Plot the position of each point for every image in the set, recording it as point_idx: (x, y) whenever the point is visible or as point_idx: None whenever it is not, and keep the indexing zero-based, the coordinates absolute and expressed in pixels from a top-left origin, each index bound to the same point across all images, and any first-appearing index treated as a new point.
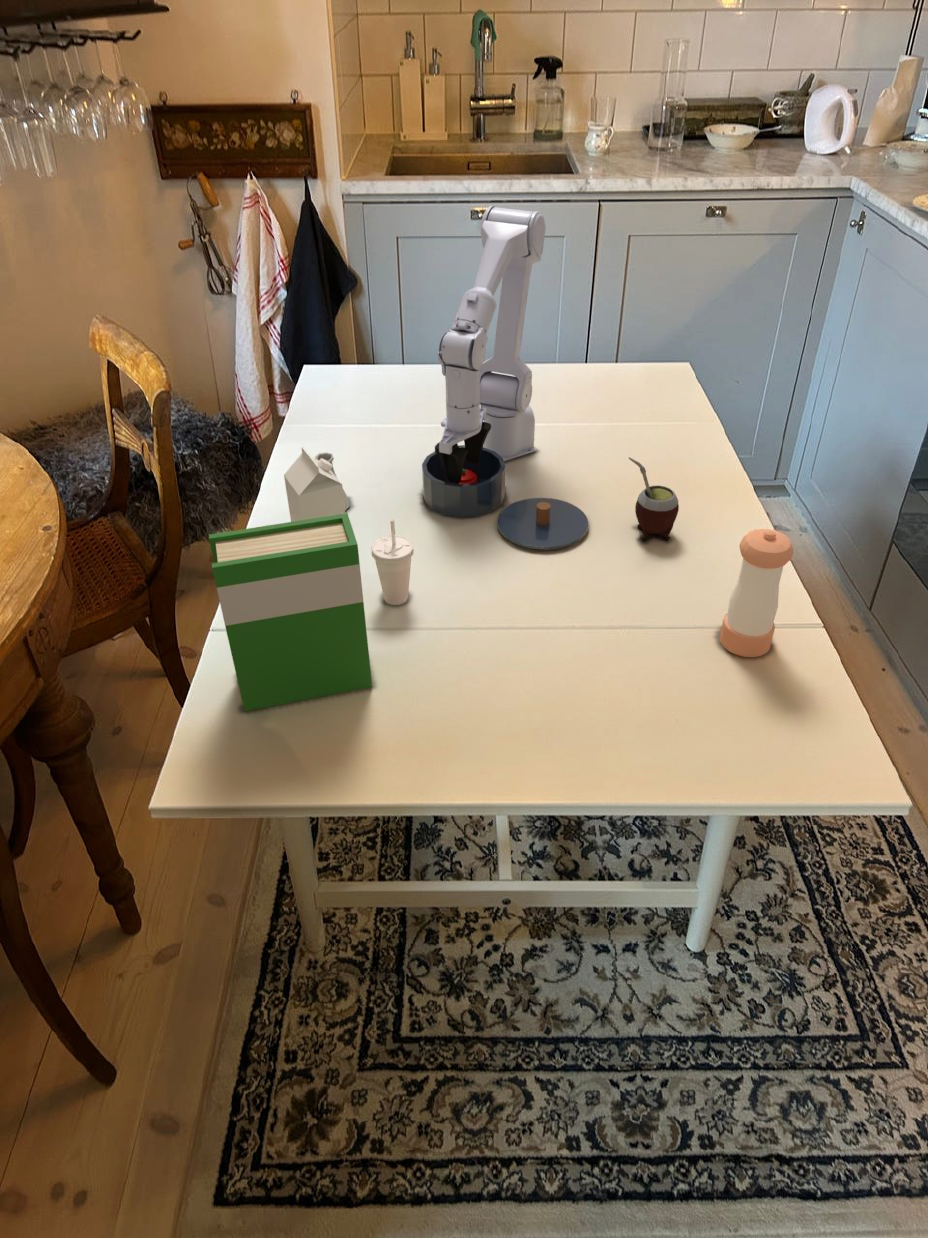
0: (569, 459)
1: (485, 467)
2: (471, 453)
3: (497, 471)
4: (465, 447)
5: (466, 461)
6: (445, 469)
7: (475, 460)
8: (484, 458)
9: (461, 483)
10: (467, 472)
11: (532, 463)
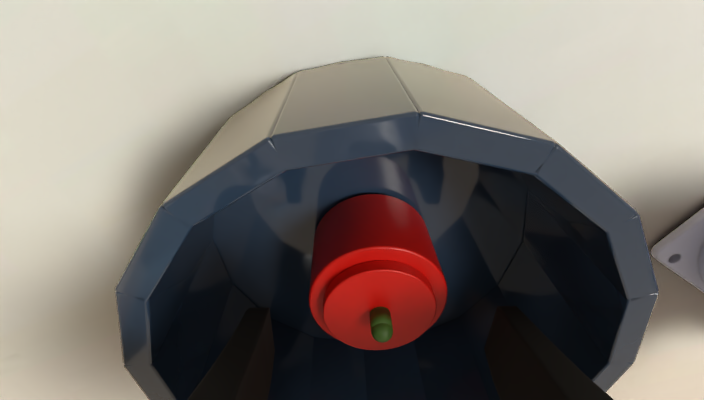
0: (684, 396)
1: (535, 304)
2: (516, 373)
3: (487, 370)
4: (547, 375)
5: (567, 232)
6: (204, 378)
7: (492, 355)
8: (562, 337)
9: (315, 315)
10: (405, 320)
11: (658, 334)
